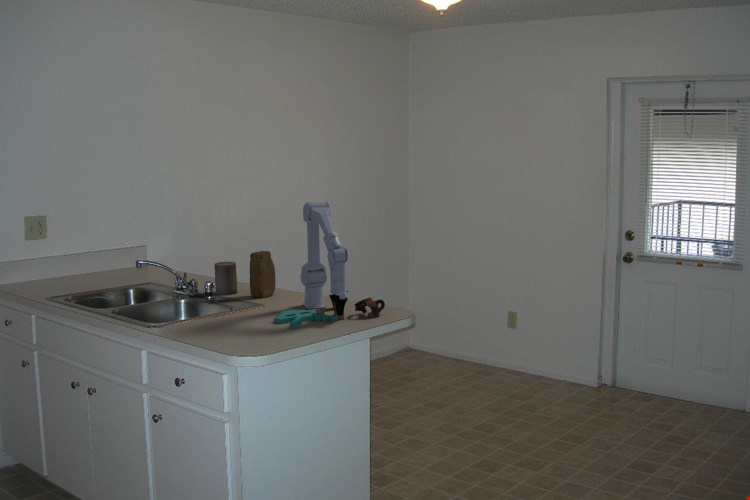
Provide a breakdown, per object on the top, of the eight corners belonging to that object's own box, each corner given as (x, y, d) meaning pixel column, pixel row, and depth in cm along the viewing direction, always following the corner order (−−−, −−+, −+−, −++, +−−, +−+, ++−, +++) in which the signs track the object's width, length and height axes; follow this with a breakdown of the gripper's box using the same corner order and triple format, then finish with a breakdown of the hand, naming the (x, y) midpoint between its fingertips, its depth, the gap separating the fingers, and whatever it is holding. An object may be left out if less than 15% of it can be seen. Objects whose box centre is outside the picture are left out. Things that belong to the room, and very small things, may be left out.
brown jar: (259, 299, 336) (258, 253, 333) (248, 297, 340) (246, 252, 338) (278, 295, 344) (277, 250, 341) (266, 293, 349) (265, 249, 346)
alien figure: (337, 321, 295) (309, 312, 310) (337, 315, 295) (308, 307, 310) (293, 329, 283) (265, 320, 298) (293, 323, 282) (265, 314, 298)
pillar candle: (238, 290, 356) (236, 258, 354) (236, 294, 346) (235, 261, 344) (216, 291, 355) (214, 259, 353) (214, 295, 345) (212, 262, 343)
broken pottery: (364, 321, 295) (355, 301, 297) (358, 326, 304) (349, 307, 305) (391, 310, 299) (382, 291, 301) (385, 316, 308) (376, 297, 310)
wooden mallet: (315, 319, 297) (314, 304, 296) (342, 316, 300) (341, 301, 299) (317, 322, 293) (316, 306, 292) (344, 318, 296) (343, 303, 295)
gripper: (352, 281, 290) (353, 317, 292) (343, 275, 303) (344, 309, 305) (334, 283, 288) (335, 318, 290) (326, 276, 302) (326, 310, 303)
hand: (338, 314), depth 297 cm, fingers closed on wooden mallet, 4 cm apart
